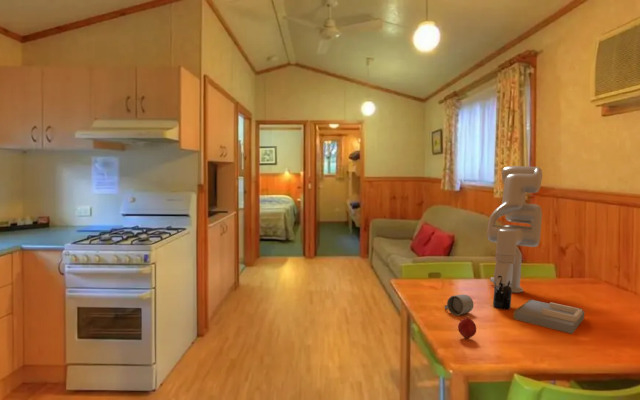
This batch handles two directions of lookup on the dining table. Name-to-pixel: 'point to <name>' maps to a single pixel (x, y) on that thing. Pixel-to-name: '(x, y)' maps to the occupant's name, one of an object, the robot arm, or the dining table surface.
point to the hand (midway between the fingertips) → (502, 299)
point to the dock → (550, 315)
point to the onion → (467, 328)
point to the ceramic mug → (459, 304)
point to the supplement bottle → (507, 298)
